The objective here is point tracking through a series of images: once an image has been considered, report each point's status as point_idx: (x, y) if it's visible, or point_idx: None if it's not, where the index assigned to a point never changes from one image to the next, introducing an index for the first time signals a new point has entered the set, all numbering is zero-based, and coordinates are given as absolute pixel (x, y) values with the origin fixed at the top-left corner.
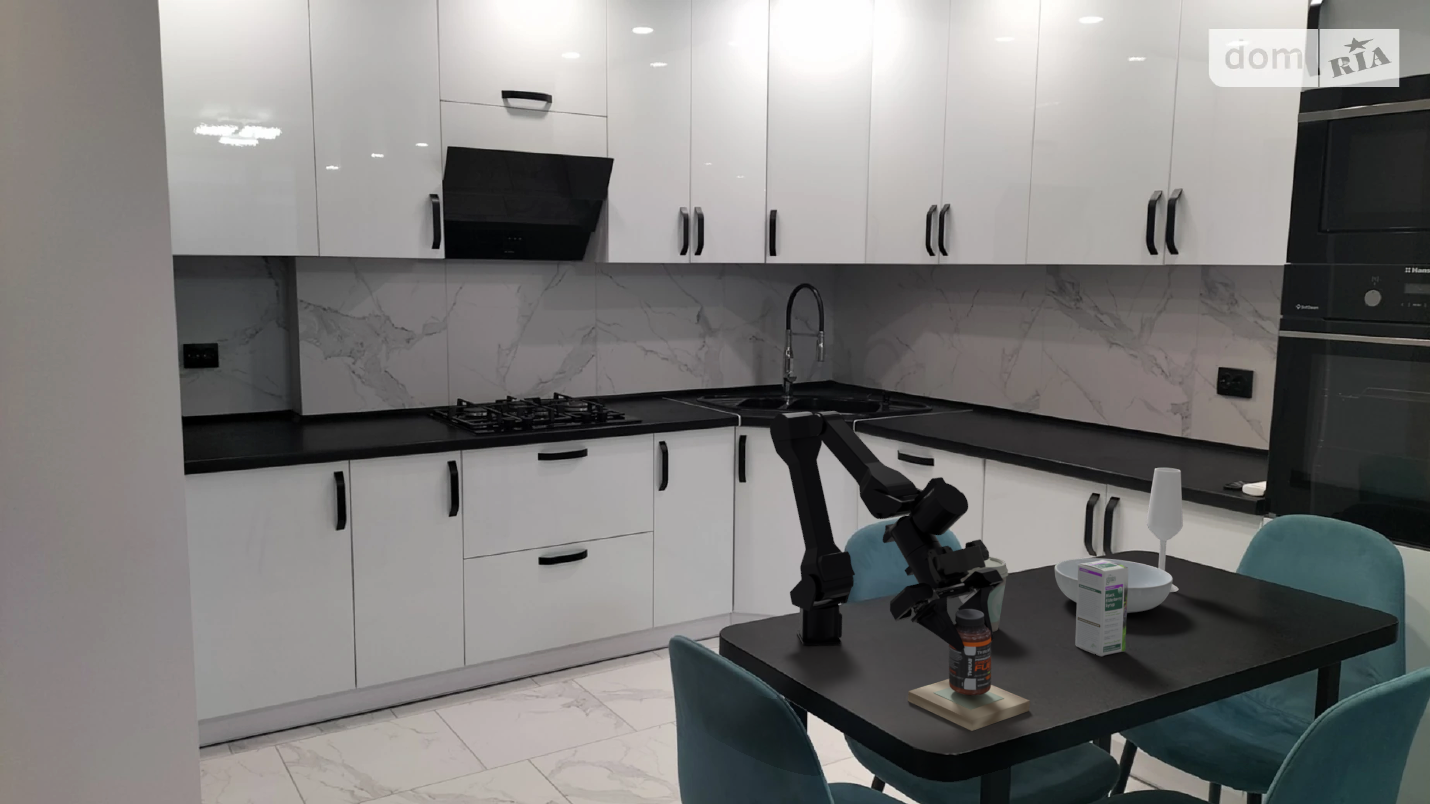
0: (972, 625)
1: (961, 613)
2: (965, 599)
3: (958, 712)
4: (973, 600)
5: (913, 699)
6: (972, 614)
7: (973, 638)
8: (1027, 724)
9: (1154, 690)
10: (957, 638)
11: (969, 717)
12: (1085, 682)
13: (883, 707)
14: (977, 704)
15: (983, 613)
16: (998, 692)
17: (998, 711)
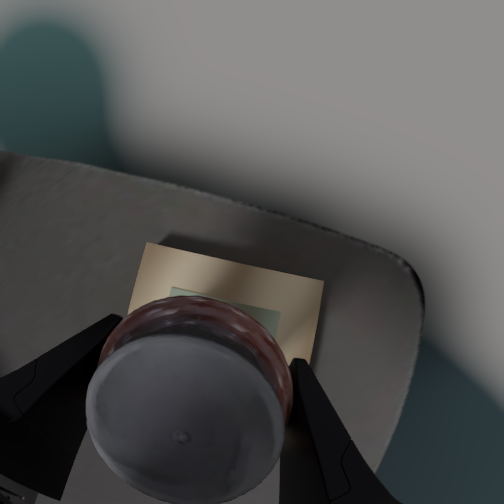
0: (254, 364)
1: (217, 475)
2: (22, 493)
3: (311, 322)
4: (16, 462)
5: None
6: (183, 413)
7: (270, 335)
8: (213, 223)
9: (11, 162)
10: (320, 389)
11: (316, 292)
12: (10, 234)
13: None
14: (247, 313)
15: (50, 385)
16: None
17: (244, 264)
